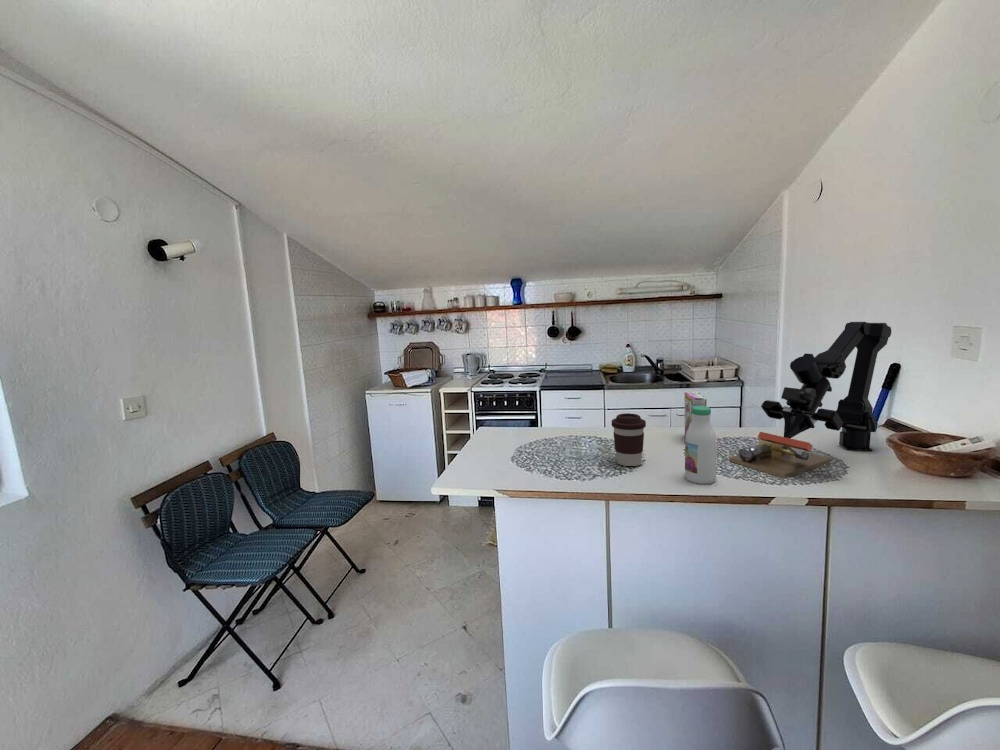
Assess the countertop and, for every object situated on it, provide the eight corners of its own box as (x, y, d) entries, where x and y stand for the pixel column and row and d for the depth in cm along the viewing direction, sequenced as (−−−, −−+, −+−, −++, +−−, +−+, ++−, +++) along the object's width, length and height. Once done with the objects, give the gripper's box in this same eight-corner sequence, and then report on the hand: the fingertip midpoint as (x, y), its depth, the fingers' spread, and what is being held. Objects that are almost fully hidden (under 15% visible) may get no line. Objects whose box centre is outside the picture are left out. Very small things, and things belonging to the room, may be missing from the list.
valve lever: (781, 447, 127) (760, 431, 121) (831, 459, 115) (809, 442, 110) (779, 454, 126) (757, 437, 121) (828, 467, 115) (806, 449, 109)
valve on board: (774, 448, 136) (775, 432, 135) (831, 462, 122) (832, 445, 121) (729, 461, 127) (729, 444, 126) (784, 478, 112) (785, 459, 112)
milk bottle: (713, 475, 117) (715, 404, 115) (718, 485, 110) (719, 411, 107) (683, 472, 120) (684, 404, 117) (686, 483, 113) (686, 410, 110)
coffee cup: (647, 459, 132) (647, 412, 130) (644, 470, 123) (643, 420, 121) (615, 456, 136) (614, 411, 134) (609, 467, 127) (608, 418, 125)
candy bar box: (683, 436, 154) (683, 392, 152) (698, 436, 153) (698, 391, 151) (690, 445, 143) (691, 398, 141) (706, 445, 142) (707, 398, 140)
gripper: (766, 373, 124) (740, 415, 121) (839, 380, 108) (811, 429, 104) (781, 395, 129) (757, 437, 125) (854, 406, 112) (828, 453, 109)
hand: (785, 438), depth 116 cm, fingers closed, pressing on valve lever
